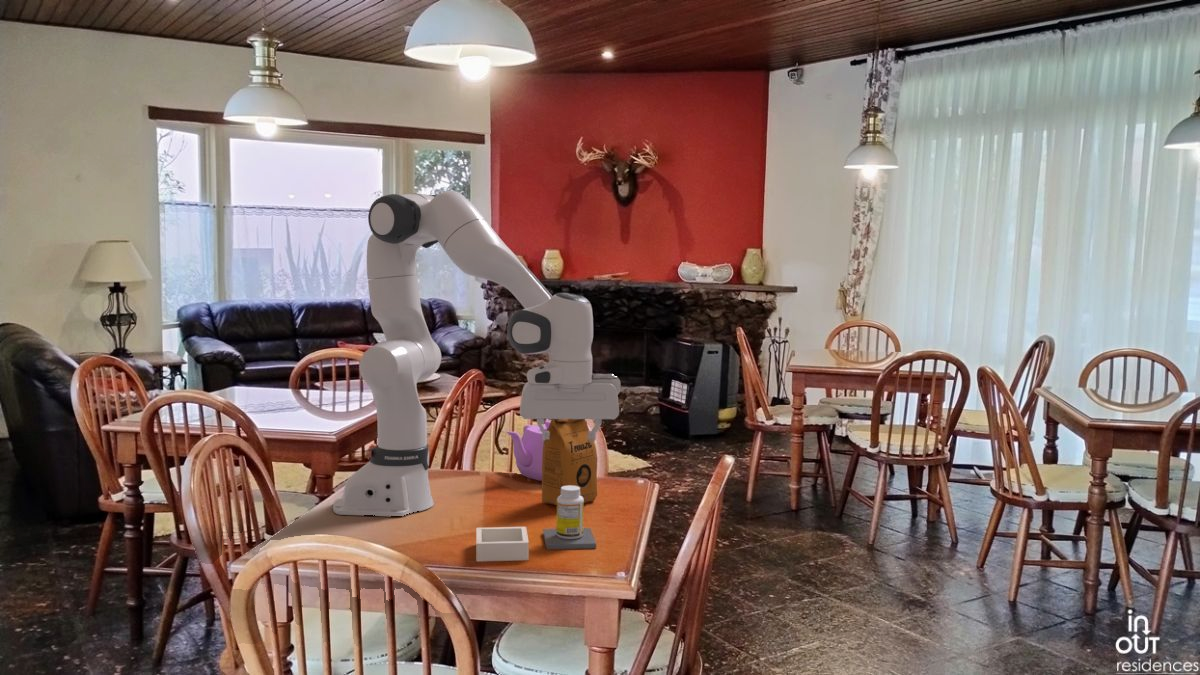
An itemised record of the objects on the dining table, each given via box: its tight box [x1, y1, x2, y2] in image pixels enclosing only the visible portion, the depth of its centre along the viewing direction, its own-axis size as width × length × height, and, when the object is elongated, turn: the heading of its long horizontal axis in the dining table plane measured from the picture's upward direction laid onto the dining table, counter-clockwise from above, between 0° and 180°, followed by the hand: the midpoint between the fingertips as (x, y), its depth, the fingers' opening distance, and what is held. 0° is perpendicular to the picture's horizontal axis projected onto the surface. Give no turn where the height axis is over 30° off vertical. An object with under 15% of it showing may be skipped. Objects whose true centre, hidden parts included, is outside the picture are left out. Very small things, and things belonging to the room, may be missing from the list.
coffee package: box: [541, 419, 598, 506], centre depth 213 cm, size 10×12×22 cm
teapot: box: [505, 419, 552, 482], centre depth 237 cm, size 23×21×15 cm
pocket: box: [475, 526, 530, 562], centre depth 178 cm, size 10×10×4 cm
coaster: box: [542, 527, 597, 550], centre depth 186 cm, size 10×10×1 cm
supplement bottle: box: [556, 485, 585, 539], centre depth 185 cm, size 6×6×10 cm
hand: (568, 440), depth 185 cm, fingers open, 8 cm apart
